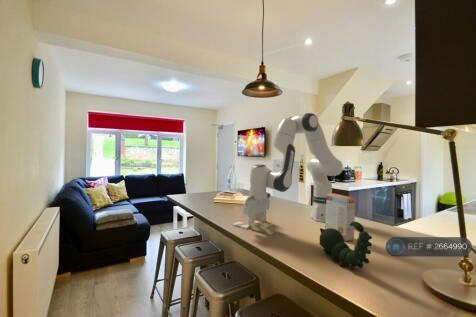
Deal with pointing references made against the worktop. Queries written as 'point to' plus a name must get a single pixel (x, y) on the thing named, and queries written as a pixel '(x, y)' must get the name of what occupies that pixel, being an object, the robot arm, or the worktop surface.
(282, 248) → the worktop surface
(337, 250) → the toy figurine
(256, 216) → the tile
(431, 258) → the worktop surface
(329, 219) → the cracker box
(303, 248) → the worktop surface
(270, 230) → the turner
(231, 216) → the worktop surface
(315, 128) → the robot arm
